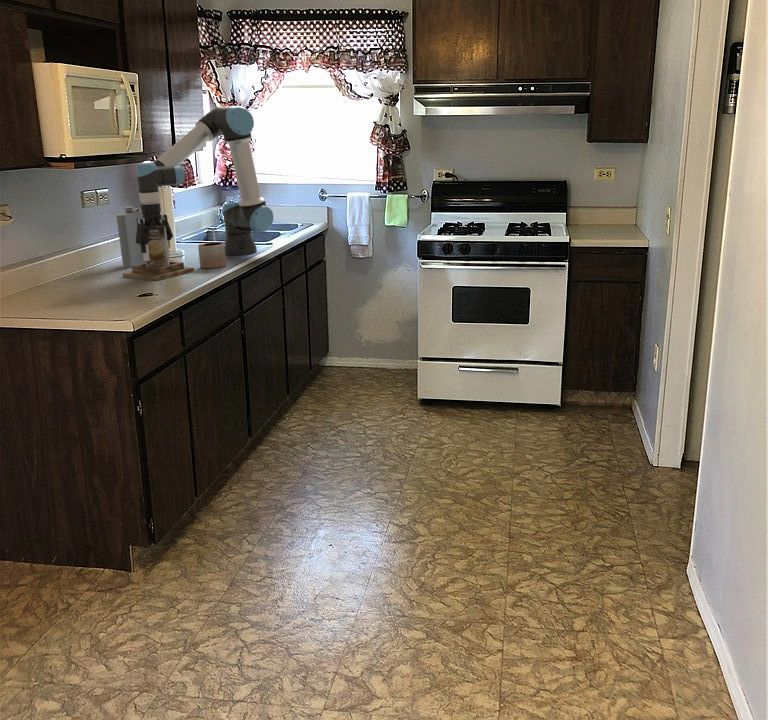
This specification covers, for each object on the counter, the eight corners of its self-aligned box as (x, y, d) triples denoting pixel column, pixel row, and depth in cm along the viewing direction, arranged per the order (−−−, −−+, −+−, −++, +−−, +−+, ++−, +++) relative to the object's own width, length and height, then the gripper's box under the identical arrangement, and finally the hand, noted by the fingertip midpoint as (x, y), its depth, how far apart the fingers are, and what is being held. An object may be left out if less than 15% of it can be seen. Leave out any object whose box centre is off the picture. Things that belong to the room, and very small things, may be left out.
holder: (160, 267, 340) (159, 258, 339) (194, 271, 330) (193, 261, 329) (122, 276, 324) (121, 267, 323) (157, 280, 314) (155, 270, 313)
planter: (220, 269, 332) (218, 246, 330) (195, 269, 335) (193, 246, 332) (230, 264, 343) (228, 241, 340) (206, 264, 345) (204, 242, 342)
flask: (144, 260, 359) (137, 204, 352) (153, 260, 358) (146, 204, 350) (120, 268, 344) (112, 209, 336) (129, 268, 342) (121, 209, 335)
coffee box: (145, 268, 322) (140, 228, 318) (147, 265, 328) (142, 225, 324) (168, 266, 324) (163, 226, 319) (170, 263, 330) (165, 224, 325)
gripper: (165, 199, 330) (171, 253, 336) (121, 206, 311) (128, 262, 318) (178, 200, 326) (184, 254, 332) (134, 206, 307) (141, 264, 314)
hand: (157, 258), depth 325 cm, fingers closed on coffee box, 10 cm apart
